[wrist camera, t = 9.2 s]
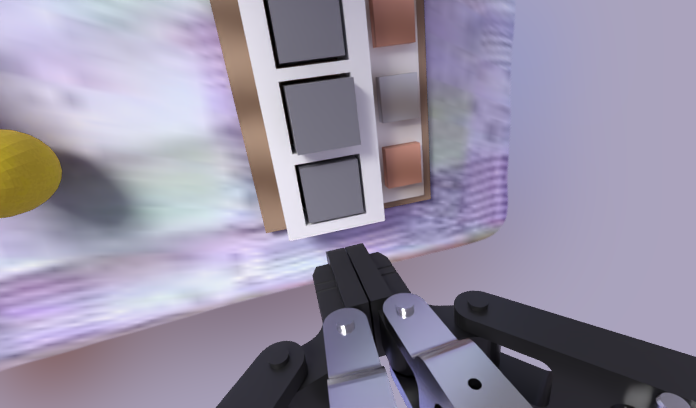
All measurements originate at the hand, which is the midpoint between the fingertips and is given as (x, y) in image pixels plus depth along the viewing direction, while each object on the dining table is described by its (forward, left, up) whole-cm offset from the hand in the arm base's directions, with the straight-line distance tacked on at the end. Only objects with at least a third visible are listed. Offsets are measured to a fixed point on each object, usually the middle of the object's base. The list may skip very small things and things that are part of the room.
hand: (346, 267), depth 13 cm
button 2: (-5, +2, -15) cm, 16 cm away
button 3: (+1, +2, -17) cm, 17 cm away
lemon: (-4, -19, -18) cm, 27 cm away
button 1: (-10, +2, -17) cm, 20 cm away
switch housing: (-5, +2, -18) cm, 19 cm away
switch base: (-5, +4, -18) cm, 19 cm away
